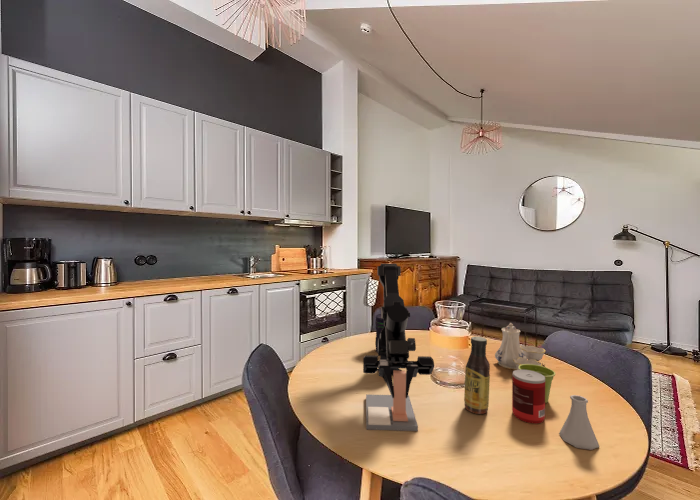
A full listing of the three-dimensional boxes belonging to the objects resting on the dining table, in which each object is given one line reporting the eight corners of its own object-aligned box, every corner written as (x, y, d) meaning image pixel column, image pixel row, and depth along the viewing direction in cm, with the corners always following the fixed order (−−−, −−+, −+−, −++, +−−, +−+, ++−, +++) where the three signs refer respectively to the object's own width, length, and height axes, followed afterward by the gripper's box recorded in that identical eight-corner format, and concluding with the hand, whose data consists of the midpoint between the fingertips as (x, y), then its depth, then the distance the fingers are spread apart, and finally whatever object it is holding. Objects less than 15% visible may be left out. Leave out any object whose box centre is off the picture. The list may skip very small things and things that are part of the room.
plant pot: (524, 388, 101) (524, 361, 101) (558, 399, 95) (559, 369, 94) (513, 398, 95) (513, 369, 95) (550, 410, 88) (550, 378, 88)
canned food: (541, 411, 88) (541, 371, 87) (548, 426, 80) (549, 383, 80) (510, 406, 90) (510, 367, 90) (514, 421, 82) (514, 378, 82)
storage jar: (399, 354, 133) (400, 318, 132) (376, 354, 133) (376, 318, 133) (396, 347, 143) (396, 313, 142) (374, 347, 143) (374, 313, 143)
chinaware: (544, 390, 104) (551, 340, 103) (489, 375, 112) (495, 328, 111) (542, 363, 128) (548, 322, 127) (497, 352, 136) (502, 313, 135)
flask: (552, 432, 78) (552, 391, 77) (580, 431, 78) (581, 390, 78) (575, 451, 70) (576, 406, 70) (606, 450, 71) (607, 405, 71)
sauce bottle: (459, 406, 90) (459, 336, 90) (476, 402, 92) (476, 333, 92) (477, 418, 84) (477, 342, 84) (494, 413, 86) (495, 339, 86)
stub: (407, 421, 80) (408, 376, 79) (393, 421, 80) (393, 376, 80) (404, 409, 86) (405, 367, 85) (391, 408, 86) (391, 367, 86)
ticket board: (417, 430, 78) (417, 424, 78) (366, 429, 79) (366, 422, 78) (408, 399, 94) (408, 394, 94) (366, 398, 94) (366, 393, 94)
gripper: (363, 325, 87) (363, 383, 76) (433, 326, 86) (442, 385, 75) (363, 345, 95) (363, 401, 84) (427, 346, 94) (435, 402, 83)
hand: (399, 397), depth 81 cm, fingers closed on stub, 3 cm apart
